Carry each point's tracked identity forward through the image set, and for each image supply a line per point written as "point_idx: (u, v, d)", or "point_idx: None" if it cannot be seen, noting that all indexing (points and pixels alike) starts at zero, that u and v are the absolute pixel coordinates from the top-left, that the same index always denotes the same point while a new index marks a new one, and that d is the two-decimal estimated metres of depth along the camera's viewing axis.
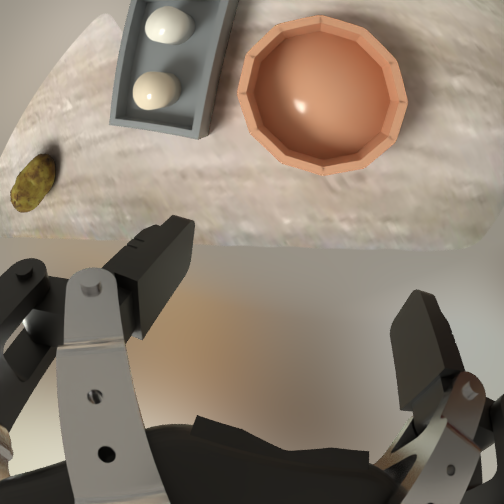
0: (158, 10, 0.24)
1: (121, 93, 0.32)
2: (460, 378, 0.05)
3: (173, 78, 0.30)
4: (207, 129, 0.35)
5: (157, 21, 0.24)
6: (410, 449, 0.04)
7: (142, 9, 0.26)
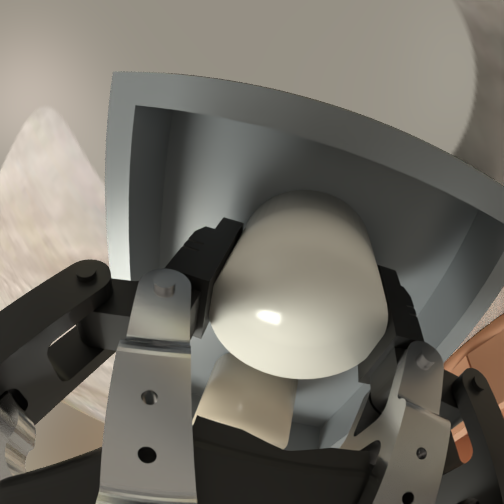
0: (276, 258, 0.07)
1: None
2: (411, 349, 0.06)
3: (289, 391, 0.14)
4: None
5: (270, 311, 0.08)
6: (372, 433, 0.05)
7: (159, 140, 0.09)
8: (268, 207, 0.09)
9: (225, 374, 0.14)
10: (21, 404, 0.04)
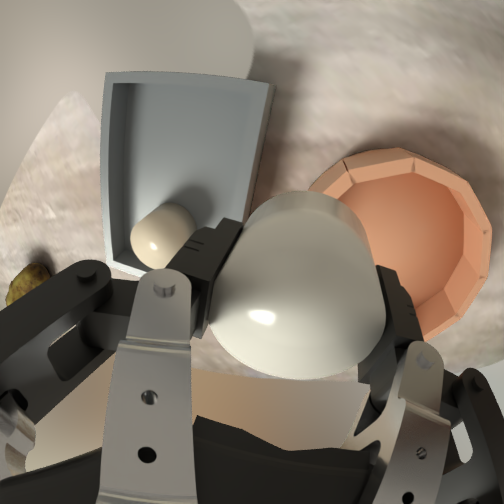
0: (273, 259, 0.07)
1: (114, 227, 0.27)
2: (411, 349, 0.06)
3: (184, 220, 0.25)
4: None
5: (268, 311, 0.08)
6: (372, 433, 0.05)
7: (123, 97, 0.21)
8: (266, 208, 0.09)
9: None
10: (21, 404, 0.04)
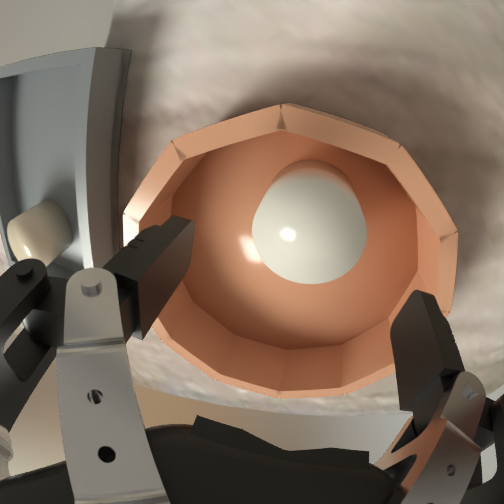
0: (296, 188, 0.11)
1: None
2: (460, 378, 0.05)
3: (52, 219, 0.19)
4: None
5: (292, 224, 0.12)
6: (410, 449, 0.04)
7: (6, 92, 0.14)
8: (287, 168, 0.14)
9: None
10: None
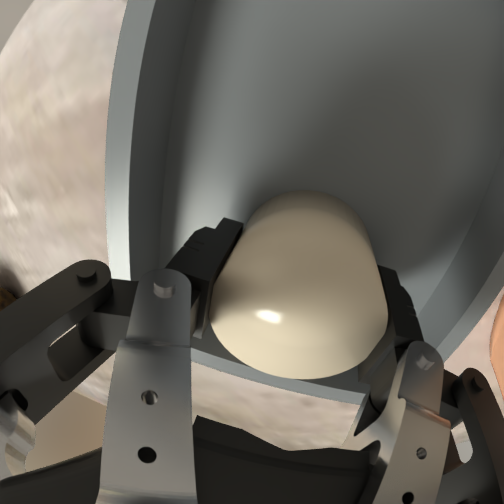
0: None
1: (140, 247, 0.10)
2: (411, 349, 0.06)
3: (371, 246, 0.09)
4: None
5: None
6: (372, 433, 0.05)
7: None
8: None
9: (269, 212, 0.09)
10: (21, 404, 0.04)
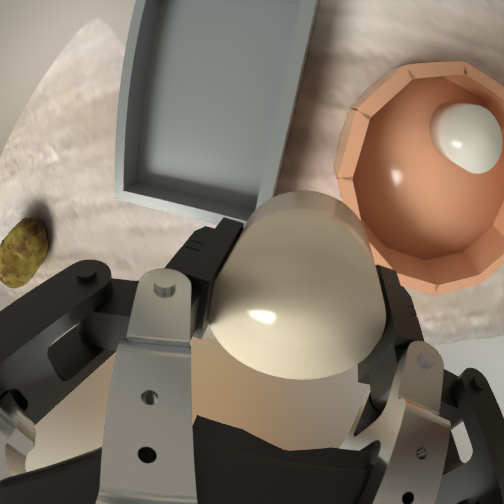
0: (472, 108, 0.13)
1: (129, 149, 0.22)
2: (411, 349, 0.06)
3: (369, 246, 0.09)
4: None
5: (470, 130, 0.14)
6: (372, 433, 0.05)
7: (155, 10, 0.16)
8: (448, 104, 0.16)
9: (268, 213, 0.09)
10: (21, 404, 0.04)
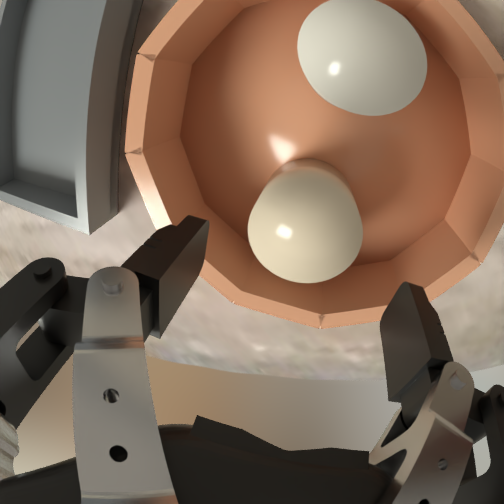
0: (346, 2, 0.07)
1: None
2: (447, 369, 0.06)
3: (351, 191, 0.13)
4: (111, 205, 0.19)
5: (345, 38, 0.08)
6: (400, 443, 0.04)
7: (19, 8, 0.10)
8: None
9: (285, 169, 0.13)
10: (0, 410, 0.04)
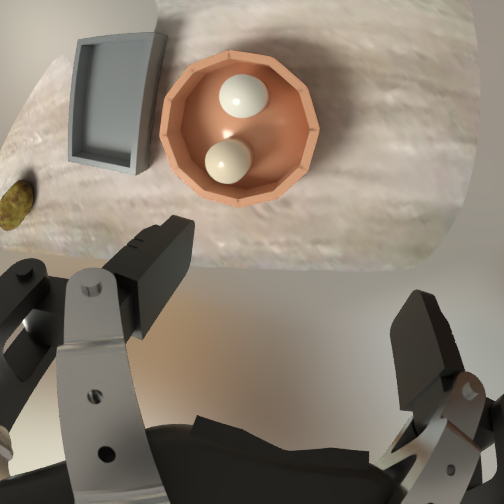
0: (235, 77, 0.27)
1: (75, 133, 0.36)
2: (460, 378, 0.05)
3: (248, 147, 0.33)
4: (146, 163, 0.38)
5: (234, 91, 0.27)
6: (410, 449, 0.04)
7: (87, 53, 0.30)
8: None
9: None
10: None
